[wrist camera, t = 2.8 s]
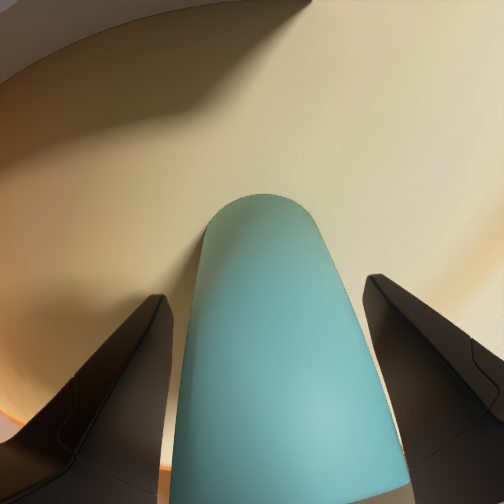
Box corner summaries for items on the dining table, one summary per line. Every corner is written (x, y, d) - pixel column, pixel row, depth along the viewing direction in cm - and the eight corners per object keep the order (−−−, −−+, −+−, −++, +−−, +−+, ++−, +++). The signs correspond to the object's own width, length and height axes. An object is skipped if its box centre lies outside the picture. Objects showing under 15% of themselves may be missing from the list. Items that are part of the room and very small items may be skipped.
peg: (321, 189, 9) (455, 457, 2) (316, 287, 11) (371, 499, 4) (193, 201, 9) (122, 496, 2) (213, 296, 11) (201, 516, 4)
